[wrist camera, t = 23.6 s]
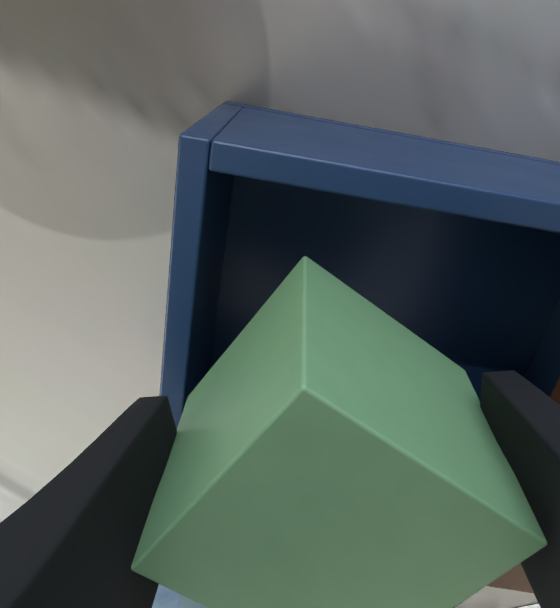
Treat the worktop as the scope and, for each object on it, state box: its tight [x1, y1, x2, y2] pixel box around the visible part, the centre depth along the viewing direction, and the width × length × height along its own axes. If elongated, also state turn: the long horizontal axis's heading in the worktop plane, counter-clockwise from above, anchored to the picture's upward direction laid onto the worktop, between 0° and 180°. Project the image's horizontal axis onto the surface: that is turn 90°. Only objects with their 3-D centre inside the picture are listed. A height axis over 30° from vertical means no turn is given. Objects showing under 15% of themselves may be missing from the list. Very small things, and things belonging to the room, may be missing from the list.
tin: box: [160, 101, 560, 429], centre depth 15 cm, size 12×10×6 cm
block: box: [131, 256, 547, 608], centre depth 10 cm, size 5×5×5 cm
